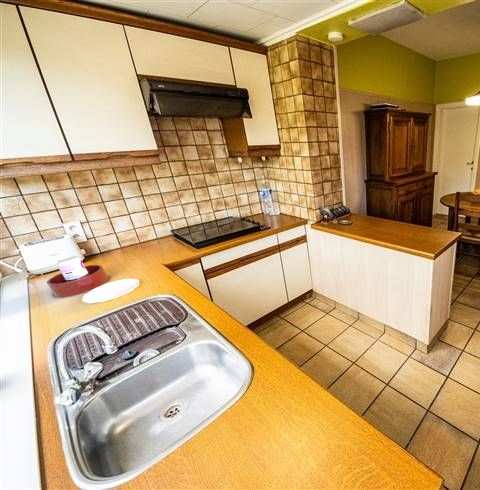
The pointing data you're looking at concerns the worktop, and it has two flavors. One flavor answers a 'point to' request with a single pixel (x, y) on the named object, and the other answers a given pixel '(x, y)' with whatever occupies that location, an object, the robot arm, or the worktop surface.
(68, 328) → the worktop surface
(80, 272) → the supplement can
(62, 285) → the red round shallow bowl
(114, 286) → the plate
